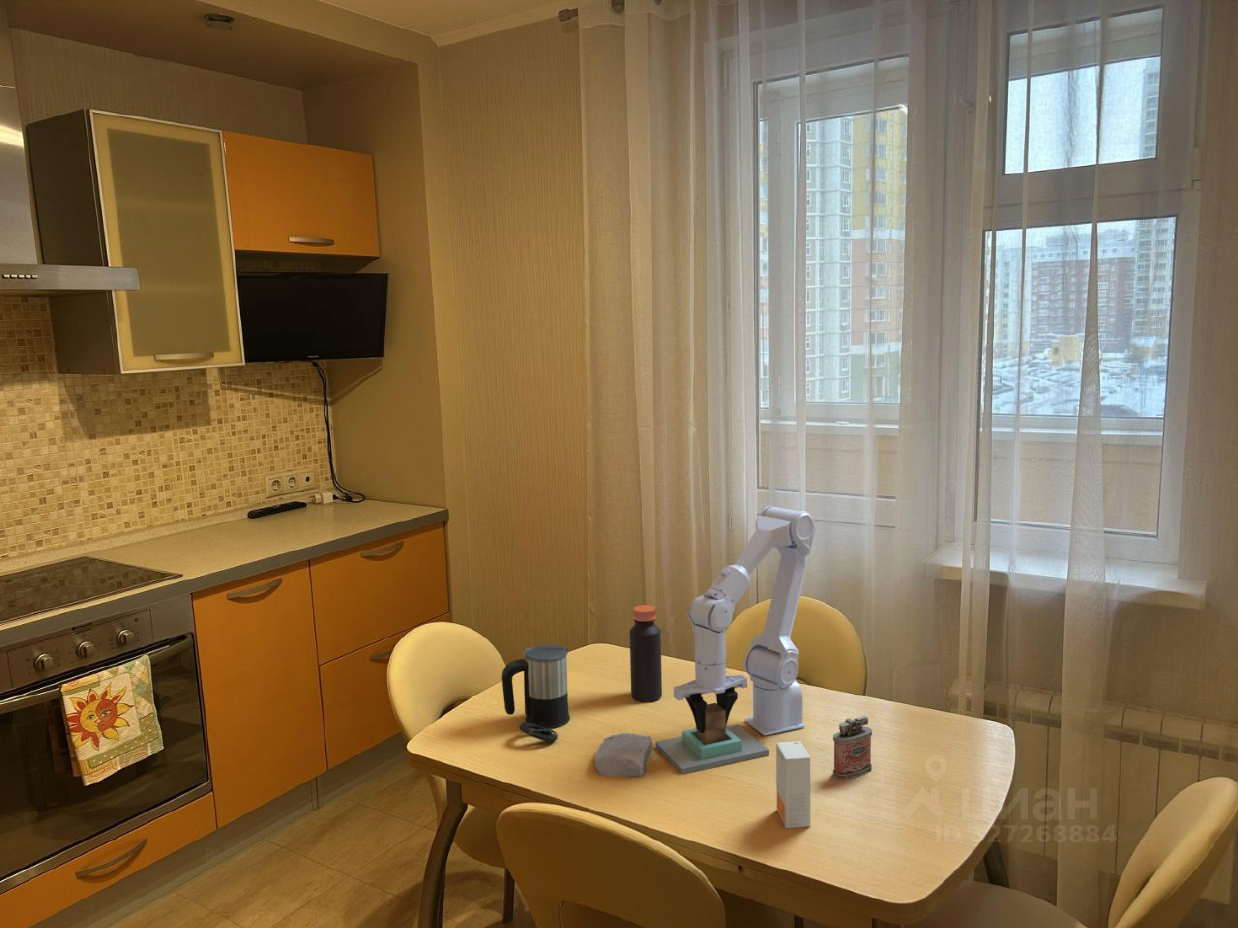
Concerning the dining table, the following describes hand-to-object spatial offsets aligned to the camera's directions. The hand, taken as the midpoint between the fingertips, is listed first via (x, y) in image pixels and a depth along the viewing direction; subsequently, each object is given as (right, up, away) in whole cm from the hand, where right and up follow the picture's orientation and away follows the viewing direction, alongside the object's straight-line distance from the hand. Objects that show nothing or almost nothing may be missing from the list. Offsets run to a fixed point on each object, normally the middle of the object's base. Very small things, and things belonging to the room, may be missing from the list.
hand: (711, 728), depth 173 cm
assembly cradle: (0, -4, +1) cm, 4 cm away
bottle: (-11, -1, +27) cm, 29 cm away
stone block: (-17, -6, -3) cm, 18 cm away
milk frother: (-32, -4, +12) cm, 35 cm away
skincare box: (+11, -8, -24) cm, 27 cm away
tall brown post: (0, -2, 0) cm, 2 cm away
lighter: (+24, -5, -9) cm, 27 cm away
